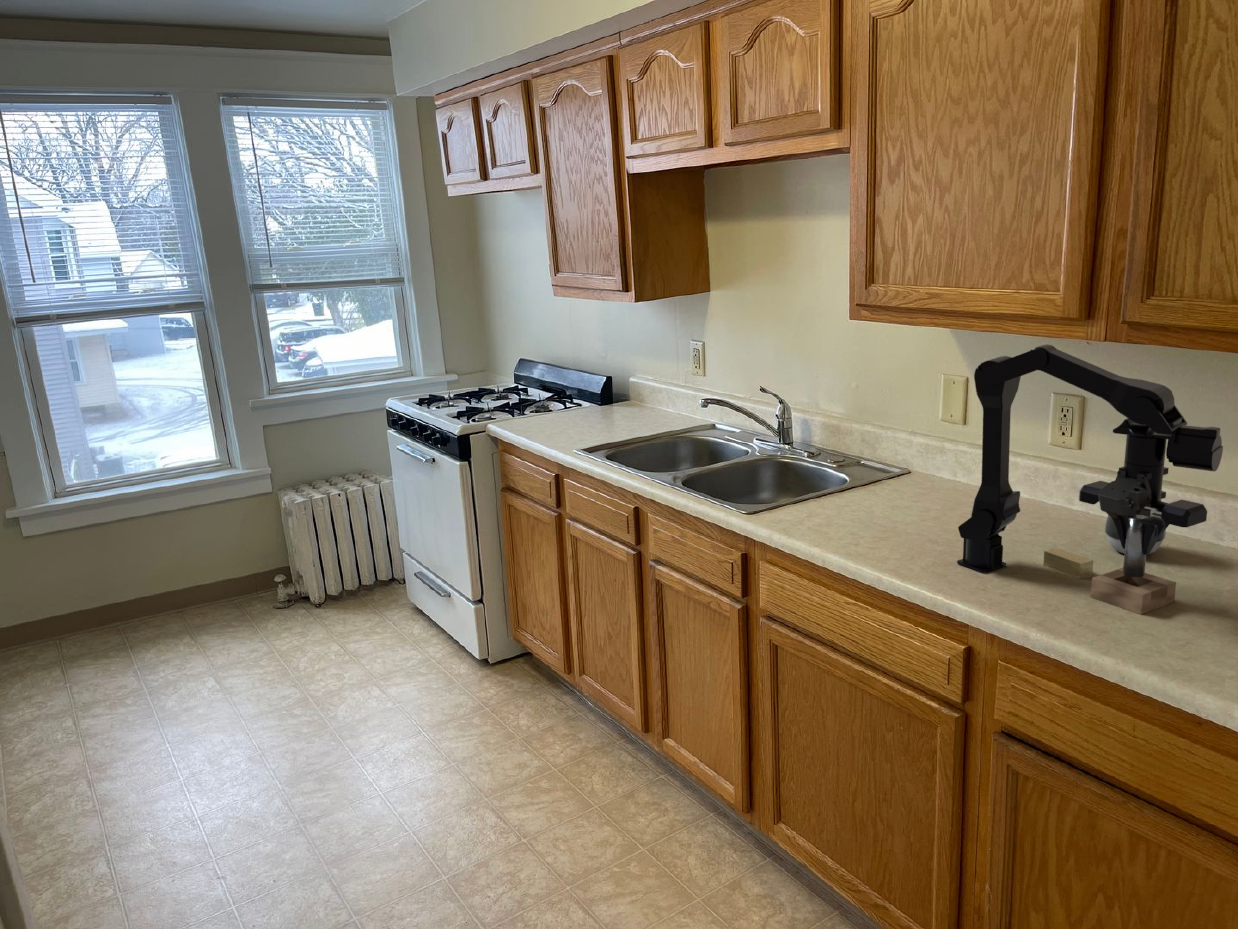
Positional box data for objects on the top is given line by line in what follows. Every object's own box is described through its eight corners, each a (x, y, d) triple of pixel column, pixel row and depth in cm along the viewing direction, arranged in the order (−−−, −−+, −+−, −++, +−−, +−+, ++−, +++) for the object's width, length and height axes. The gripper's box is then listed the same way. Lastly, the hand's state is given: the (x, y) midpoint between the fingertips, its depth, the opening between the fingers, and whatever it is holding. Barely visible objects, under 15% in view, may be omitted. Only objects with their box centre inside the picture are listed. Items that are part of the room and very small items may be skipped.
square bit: (1043, 567, 173) (1044, 551, 172) (1055, 563, 174) (1056, 547, 173) (1079, 580, 166) (1080, 563, 165) (1092, 576, 167) (1093, 560, 166)
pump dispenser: (1099, 556, 176) (1106, 480, 172) (1106, 539, 184) (1112, 466, 180) (1161, 564, 170) (1169, 486, 166) (1165, 547, 178) (1173, 471, 175)
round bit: (1118, 573, 156) (1123, 517, 153) (1130, 569, 157) (1135, 513, 154) (1136, 578, 153) (1142, 522, 150) (1148, 574, 154) (1154, 518, 152)
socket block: (1090, 597, 158) (1092, 578, 157) (1123, 585, 162) (1125, 566, 161) (1141, 614, 150) (1142, 594, 149) (1174, 601, 154) (1176, 582, 153)
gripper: (1061, 459, 154) (1054, 546, 158) (1170, 482, 138) (1161, 579, 142) (1103, 448, 159) (1096, 533, 163) (1214, 470, 143) (1203, 563, 147)
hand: (1135, 551), depth 154 cm, fingers closed on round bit, 3 cm apart
